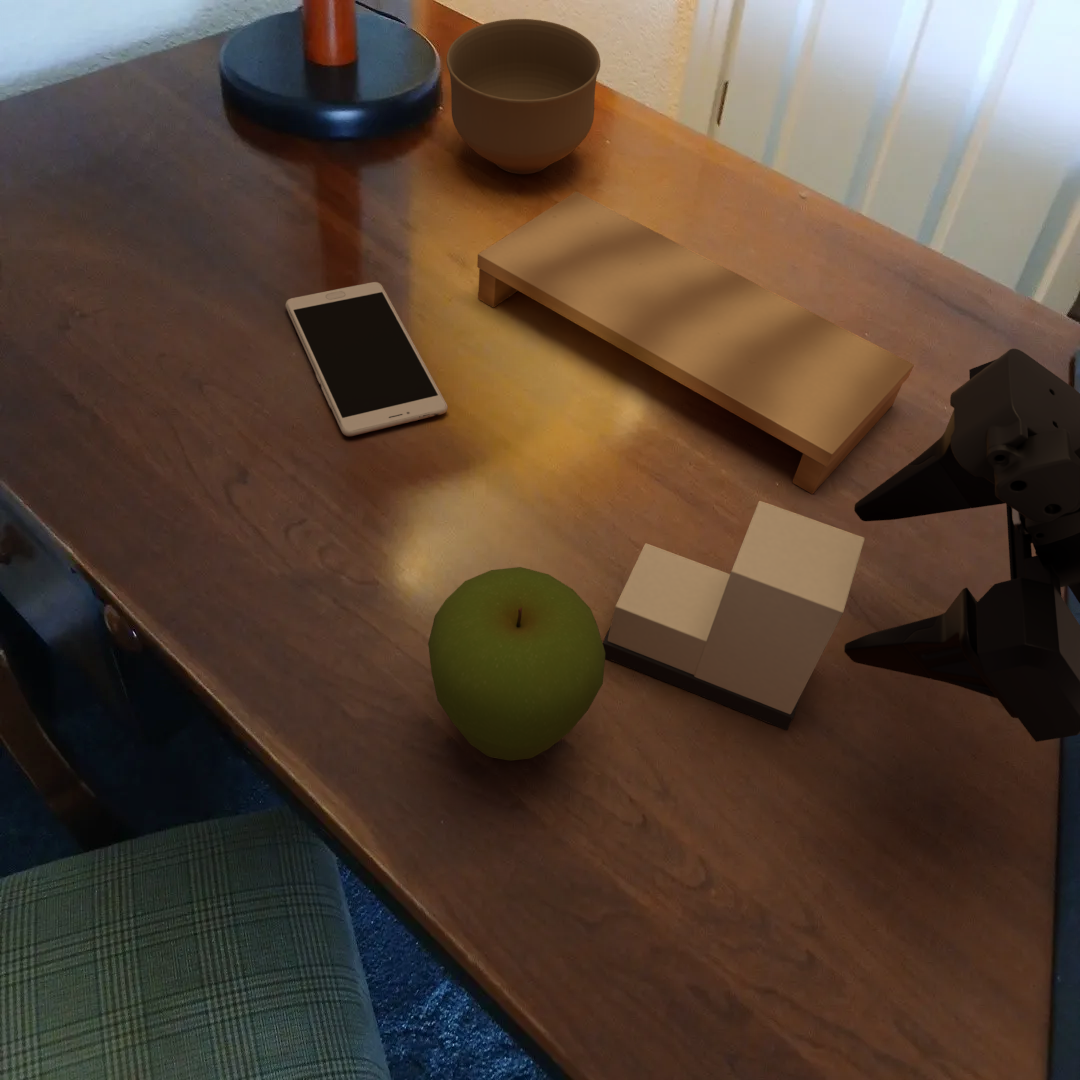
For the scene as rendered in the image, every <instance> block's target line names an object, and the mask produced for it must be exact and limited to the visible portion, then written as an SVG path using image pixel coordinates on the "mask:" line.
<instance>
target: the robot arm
mask: <svg viewBox="0 0 1080 1080" xmlns="http://www.w3.org/2000/svg"><path fill="white" fill-rule="evenodd" d="M968 371H969V373H968V374H969V375H968V377H969V380H967V381H965V382H964V383H963V384H962V385H960V386H959V387H958V388H956V389H955V390H954V391H952V392H951V394H950V398H949V404H950V405H949V406H950V407H952V408H953V411H952V413H951V416H950V418H949V421H948V423H947V426H946V427H945V430H944V432H943V434H942V435H941V436H940V437H939V438H938V440H936V441H935V442H934V443H933V444H932V445H930V446H929V447H928V448H926V449H925V450H923V452H922V453H921V454H919V455H918V456H917V457H916V458H914V459H913V460H912V461H911V462H909V463H908V464H907V465H905V466H903V467H902V468H901V469H900V470H899V471H897V472H895V473H894V474H893V475H892V476H890V477H889V478H887V479H886V480H885V481H883V482H882V483H881V484H880V485H878V486H877V487H875V488H874V489H873V490H871V491H869V493H868V494H866V495H864V497H862V498H860V499H859V500H858V501H857V502H856V503H855V504H854V507H853V508H854V513H855V514H856V515H857V517H858V518H859V519H860V520H861V521H863V522H878V521H880V522H881V521H892V520H893V521H895V520H901V519H907V518H908V519H909V518H915V517H921V516H928V515H936V514H941V513H942V514H943V513H949V512H956V511H962V510H969V509H977V508H982V507H983V508H984V507H989V506H997V505H1004V504H1005V505H1006V506H1005V507H1006V522H1007V541H1008V557H1009V559H1008V561H1009V574H1010V575H1009V576H1010V579H1008V580H1004V581H1001V582H997V583H994V584H993V585H992V586H991V587H990V588H989V589H988V590H987V591H986V592H985V594H984V595H983V596H982V597H980V599H978V601H977V599H976V598H975V596H974V595H973V594H972V592H971V591H970V589H969V588H968V587H965V588H962V589H961V590H960V592H959V593H958V595H957V596H956V597H955V599H954V600H953V601H952V603H951V604H950V605H949V607H948V608H947V609H946V611H945V612H943V613H941V614H938V615H935V616H931V617H927V618H924V619H920V620H915V621H912V622H908V623H905V624H901V625H896V626H893V627H890V628H889V627H888V628H887V629H883V630H879V631H874V632H871V633H868V634H866V635H863V636H861V637H858V638H855V639H853V640H851V641H847V642H846V643H845V644H844V646H843V652H844V653H845V654H846V656H847V657H848V658H849V659H850V660H851V662H853V663H855V664H860V665H865V666H869V667H874V668H879V669H883V670H887V671H892V672H897V673H902V674H907V675H911V676H915V677H921V678H923V679H924V678H926V679H930V680H932V681H933V680H934V681H938V682H942V683H946V684H949V685H954V686H957V687H960V688H963V689H966V690H970V691H972V692H976V693H978V694H981V695H985V696H987V697H991V698H994V699H997V700H998V702H999V703H1000V705H1001V706H1002V707H1003V709H1005V711H1006V712H1007V713H1008V715H1009V716H1010V717H1011V718H1013V719H1018V720H1019V722H1020V723H1021V724H1022V726H1023V727H1024V728H1025V730H1026V731H1027V732H1028V734H1029V735H1030V737H1031V738H1032V739H1033V740H1034V741H1035V742H1036V743H1039V742H1043V741H1050V740H1057V739H1062V738H1063V739H1064V738H1068V737H1075V736H1078V735H1080V622H1078V620H1077V619H1076V617H1075V615H1074V613H1073V612H1072V611H1071V609H1070V608H1069V606H1068V605H1067V603H1066V601H1065V600H1064V598H1063V596H1062V590H1061V589H1062V588H1064V587H1068V588H1069V589H1070V590H1071V593H1072V595H1073V596H1074V597H1075V599H1076V601H1077V602H1078V604H1080V392H1079V391H1078V390H1077V389H1076V388H1074V387H1073V386H1072V385H1070V384H1069V383H1067V382H1066V381H1064V380H1063V379H1062V378H1060V377H1059V376H1057V375H1056V374H1055V373H1053V372H1052V371H1051V370H1050V369H1047V367H1046V366H1044V365H1042V364H1041V363H1039V361H1037V360H1035V359H1034V358H1032V357H1031V356H1030V355H1029V354H1027V353H1026V352H1024V351H1023V350H1021V349H1018V348H1010V349H1008V350H1007V351H1006V352H1004V353H1003V354H1002V355H1000V356H999V357H998V358H996V359H993V360H991V361H988V362H986V363H983V364H980V365H978V366H975V367H972V368H970V369H968ZM1032 545H1033V548H1034V553H1035V555H1033V550H1032Z"/></svg>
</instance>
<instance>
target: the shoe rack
mask: <svg viewBox="0 0 1080 1080" xmlns="http://www.w3.org/2000/svg"><path fill="white" fill-rule="evenodd" d="M476 266H477V268H478V294H477V295H478V297H477V298H478V300H480V301H481V302H483V303H484V304H486V305H488V306H490V307H491V308H496V307H497V306H498V305H500V304H501V303H503V302H504V301H506V300H507V299H509V298H510V297H512V296H513V295H514V294H516V293H517V292H520V293H522V294H523V295H525V296H527V297H528V298H531V299H532V300H534V301H535V302H537V303H539V304H540V305H543V306H545V307H546V308H547V309H549V310H551V311H553V312H555V313H556V314H559V315H560V316H562V317H563V318H565V319H567V320H569V321H571V322H572V323H574V324H575V325H578V326H579V327H581V328H583V329H585V331H588V332H590V333H591V334H593V335H595V336H596V337H598V338H601V339H602V340H603V341H606V342H608V343H609V344H611V345H613V346H614V347H616V348H618V349H620V350H621V351H623V352H625V353H627V354H629V355H630V356H632V357H634V358H635V359H637V360H638V361H640V362H642V363H644V364H646V365H648V366H649V367H651V368H653V369H655V370H656V371H659V372H660V373H662V374H663V375H664V376H667V377H669V378H670V379H672V380H674V381H676V382H677V383H680V384H681V385H683V386H684V387H686V388H687V389H690V390H691V391H693V392H694V393H697V394H698V395H700V396H702V397H703V398H706V399H707V400H709V401H711V402H713V403H714V404H716V405H717V406H720V407H721V408H723V409H724V410H726V411H729V412H730V413H731V414H733V415H736V416H737V417H739V418H741V419H743V420H744V421H746V422H748V423H750V424H751V425H753V426H755V427H756V428H758V429H760V430H761V431H763V432H765V433H766V434H768V435H770V436H772V437H774V438H776V439H778V440H779V441H781V442H782V443H784V444H786V445H788V446H790V447H791V448H793V449H795V450H797V451H798V452H800V453H801V454H802V455H801V458H800V461H799V463H798V466H797V469H796V471H795V474H794V476H793V478H792V482H791V483H792V484H794V485H796V486H797V487H799V488H800V489H803V490H804V491H806V492H807V493H808V494H811V495H813V494H814V493H815V492H816V491H817V490H818V489H819V488H820V487H821V485H823V483H824V482H825V481H826V480H827V479H828V478H829V477H830V475H831V474H832V473H833V472H834V471H835V470H836V469H837V468H838V467H839V465H840V464H841V463H842V462H843V461H844V460H845V459H846V457H847V456H848V455H850V453H851V452H852V451H853V450H854V449H855V448H856V447H857V445H858V444H859V443H860V442H861V441H862V440H863V439H864V438H865V436H866V435H867V434H868V433H869V432H870V431H871V430H872V428H874V427H875V425H877V423H878V422H879V421H880V420H882V418H883V417H884V416H885V414H886V413H887V412H888V411H889V410H890V409H891V408H892V406H893V405H894V403H895V401H896V398H897V396H898V394H899V392H900V391H901V388H902V385H903V384H904V383H905V382H906V381H907V379H909V377H910V375H911V373H912V371H913V368H914V367H915V364H914V363H912V362H910V361H909V360H907V359H904V358H902V357H900V356H899V355H897V354H895V353H893V352H892V351H889V350H887V349H885V348H883V347H881V346H880V345H877V344H875V343H874V342H872V341H869V340H868V339H866V338H864V337H861V336H859V335H857V334H856V333H854V332H852V331H850V330H848V329H846V328H844V327H842V326H840V325H838V324H836V323H834V322H833V321H830V320H828V319H826V318H825V317H822V316H820V315H819V314H817V313H815V312H813V311H811V310H809V309H807V308H806V307H803V306H801V305H800V304H797V303H795V302H793V301H791V300H789V299H787V298H785V297H784V296H782V295H780V294H778V293H776V292H774V291H772V290H770V289H768V288H766V287H764V286H763V285H760V284H759V283H756V282H755V281H753V280H752V279H748V278H747V277H745V276H743V275H741V274H739V273H737V272H735V271H733V270H731V269H730V268H727V267H725V266H724V265H721V264H719V263H718V262H715V261H714V260H712V259H710V258H708V257H706V256H704V255H702V254H700V253H698V252H696V251H694V250H692V249H690V248H688V247H687V246H684V245H683V244H680V243H679V242H676V241H675V240H673V239H671V238H669V237H667V236H665V235H663V234H661V233H659V232H658V231H655V230H653V229H652V228H650V227H647V226H646V225H643V224H642V223H640V222H638V221H636V220H634V219H632V218H629V217H628V216H626V215H624V214H622V213H620V212H618V211H616V210H615V209H612V208H610V207H608V206H606V205H604V204H603V203H601V202H598V201H597V200H596V199H593V198H591V197H589V196H587V195H586V194H584V193H581V192H579V191H578V190H577V191H574V192H572V193H571V194H569V195H568V196H566V197H565V198H563V199H562V200H560V201H558V202H557V203H556V204H553V205H552V206H551V207H549V208H547V209H546V210H544V211H542V212H541V213H540V214H537V216H535V217H534V218H532V219H530V220H529V221H527V222H525V223H524V224H522V225H521V226H519V227H518V228H516V229H515V230H513V231H511V232H509V233H508V234H507V235H505V236H504V237H502V238H500V239H499V240H498V241H496V242H494V243H493V244H491V245H490V246H487V248H485V249H483V250H481V251H480V252H479V253H478V254H477V264H476Z"/></svg>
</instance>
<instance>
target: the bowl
mask: <svg viewBox="0 0 1080 1080" xmlns="http://www.w3.org/2000/svg"><path fill="white" fill-rule="evenodd" d="M445 62H446V67H447V69H448V72H449V77H450V93H451V96H450V97H451V99H450V100H451V101H450V102H451V119H452V122H453V125H454V127H455V130H456V131H457V133H458V135H459V136H460V137H461V139H462V140H463V141H464V142H465V144H467V145H468V146H469V148H470V149H471V150H472V151H473V152H475V153H476V154H477V155H479V156H480V157H482V158H483V159H485V160H487V161H489V162H491V163H493V164H495V165H496V166H497V167H498V168H500V169H502V170H503V171H505V172H508V173H511V174H516V175H529V174H535V173H538V172H541V171H542V170H544V169H546V168H547V167H548V166H550V165H552V164H553V163H556V162H558V161H560V160H562V159H563V158H565V157H567V156H568V155H570V154H571V153H572V152H573V151H574V150H576V148H578V146H580V145H581V144H582V142H583V141H584V140H585V139H586V137H587V136H588V134H589V133H590V131H591V129H592V126H593V123H594V117H595V102H596V101H595V97H596V86H597V77H598V74H599V72H600V69H601V57H600V53H599V51H598V49H597V47H596V46H595V45H594V43H592V42H591V40H590V39H588V37H586V36H585V35H584V34H582V33H580V32H578V31H577V30H575V29H573V28H570V27H568V26H566V25H563V24H559V23H556V22H553V21H552V22H551V21H548V20H541V19H534V18H509V19H500V20H494V21H491V22H487V23H483V24H480V25H477V26H475V27H472V28H470V29H468V30H466V31H465V32H463V33H462V34H460V35H459V36H458V37H457V38H456V39H455V40H454V41H453V42H452V43H451V44H450V46H449V48H448V50H447V54H446V61H445Z"/></svg>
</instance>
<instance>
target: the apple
mask: <svg viewBox="0 0 1080 1080" xmlns="http://www.w3.org/2000/svg"><path fill="white" fill-rule="evenodd" d="M427 647H428V654H429V655H428V656H429V663H430V670H431V676H432V681H433V686H434V690H435V695H436V700H437V702H438V703H439V705H440V706H441V708H442V709H443V710H444V712H445V714H446V715H447V717H448V718H449V720H450V721H451V722H452V724H453V725H454V726H455V727H456V729H457V730H458V731H459V732H460V733H461V735H462V736H463V737H464V738H465V740H466V741H467V742H468V743H469V744H470V745H471V746H472V747H474V748H475V749H476V750H478V751H480V752H481V753H482V754H484V755H485V756H487V757H490V758H494V759H499V760H504V761H510V762H511V761H518V760H528V759H533V758H535V757H536V756H538V755H540V754H542V753H543V752H545V751H548V750H550V749H551V747H553V746H554V745H555V744H557V743H558V742H560V740H562V739H563V738H564V737H565V736H566V735H568V734H569V733H570V732H571V731H572V730H573V729H574V727H575V726H576V725H577V724H578V723H579V722H580V720H581V719H582V718H583V717H584V716H585V714H587V712H588V711H589V709H591V706H592V704H593V703H594V700H595V698H596V696H597V695H598V693H599V691H600V689H601V688H602V686H603V684H604V673H605V663H606V658H605V650H604V646H603V641H602V637H601V633H600V630H599V627H598V624H597V620H596V619H595V616H594V613H593V610H592V608H591V607H590V606H589V605H588V603H586V602H585V601H584V600H583V598H582V597H581V596H580V595H579V594H578V593H577V592H576V591H575V590H574V589H573V588H572V587H570V586H568V585H567V584H565V583H564V582H562V581H561V580H559V579H557V578H556V577H554V576H553V575H551V574H549V573H545V572H541V571H537V570H533V569H530V568H527V567H522V566H516V567H508V568H499V569H491V570H487V571H486V572H484V573H481V574H478V575H476V576H474V577H471V578H469V579H466V580H465V581H463V582H462V583H461V584H460V585H459V586H458V587H457V588H456V589H455V590H454V591H453V592H452V593H451V594H450V595H449V596H448V597H447V598H446V599H445V600H444V602H443V603H442V604H441V606H440V608H438V611H437V612H436V613H435V615H434V619H433V623H432V626H431V630H430V635H429V638H428V643H427Z"/></svg>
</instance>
